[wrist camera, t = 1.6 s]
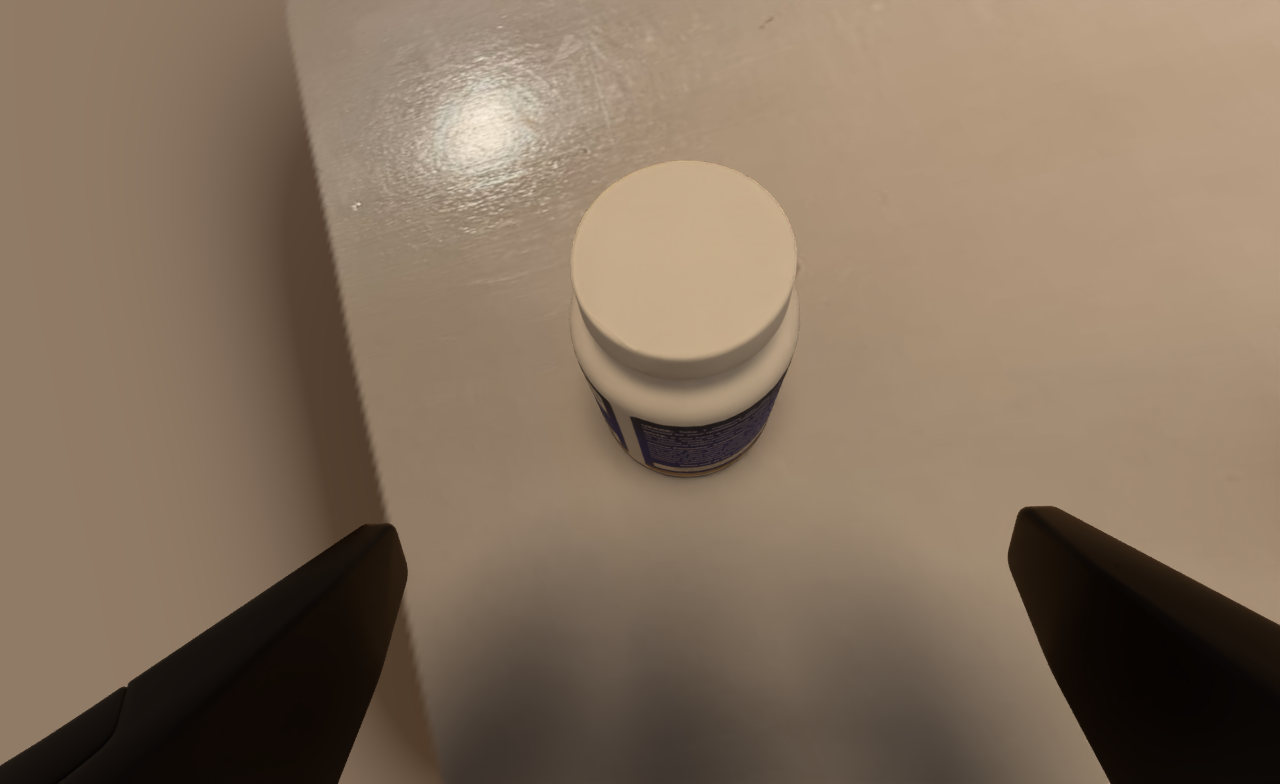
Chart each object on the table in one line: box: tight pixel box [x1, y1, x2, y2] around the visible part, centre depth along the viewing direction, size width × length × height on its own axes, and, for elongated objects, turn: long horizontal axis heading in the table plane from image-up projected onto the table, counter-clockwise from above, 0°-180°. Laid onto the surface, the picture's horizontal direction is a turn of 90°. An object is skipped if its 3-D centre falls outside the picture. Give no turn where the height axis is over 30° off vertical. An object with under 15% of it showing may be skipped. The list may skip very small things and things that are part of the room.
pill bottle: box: [570, 160, 800, 477], centre depth 18 cm, size 6×6×10 cm
